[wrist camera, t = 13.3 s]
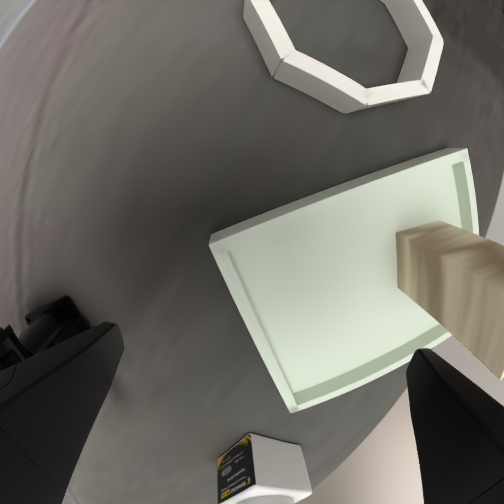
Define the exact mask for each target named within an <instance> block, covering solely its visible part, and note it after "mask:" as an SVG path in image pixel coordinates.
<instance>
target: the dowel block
mask: <svg viewBox="0 0 504 504" xmlns="http://www.w3.org/2000/svg"><path fill="white" fill-rule="evenodd" d="M395 235H396V251H397V283H398V288H399V289H400V290H401V291H402V292H404V293H405V294H406V295H407V296H408V297H409V298H411V299H412V300H413V301H414V302H415V303H417V304H418V305H419V306H420V307H421V308H422V309H424V310H425V311H426V312H427V313H428V314H429V315H431V316H432V317H433V318H434V319H435V320H436V321H437V322H439V323H440V324H441V325H442V326H443V327H444V328H445V329H446V330H447V331H449V332H450V333H451V334H452V335H453V336H454V337H455V338H456V339H457V340H458V341H460V342H461V343H462V344H463V345H464V346H465V347H466V348H467V349H468V350H469V351H470V352H471V353H472V354H473V355H474V356H476V357H477V358H478V359H479V360H480V361H481V362H482V363H483V364H484V365H485V366H486V367H487V368H488V369H489V370H490V371H491V372H492V373H493V374H494V375H495V376H496V377H497V378H498V379H499V380H501V379H502V378H503V377H504V246H503V245H500V244H498V243H496V242H493V241H491V240H489V239H486V238H484V237H481V236H479V235H477V234H474V233H471V232H469V231H466V230H464V229H461V228H459V227H456V226H453V225H451V224H448V223H445V222H442V221H440V220H439V221H435V222H432V223H428V224H425V225H421V226H417V227H414V228H410V229H407V230H403V231H399V232H396V233H395Z"/></svg>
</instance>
